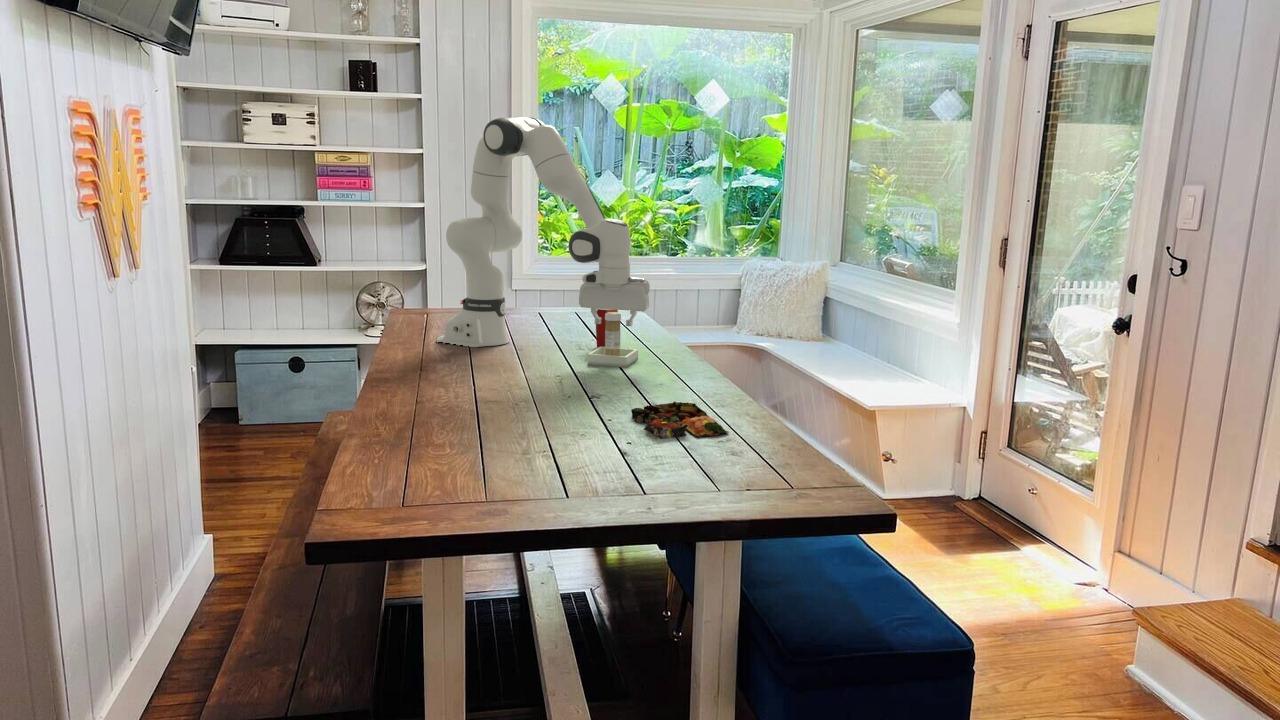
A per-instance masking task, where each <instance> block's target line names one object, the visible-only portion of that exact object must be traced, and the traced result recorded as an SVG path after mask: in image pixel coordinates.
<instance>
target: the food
mask: <svg viewBox="0 0 1280 720" xmlns="http://www.w3.org/2000/svg"><path fill="white" fill-rule="evenodd" d="M630 412H631V419H633V422H635V424H644V428H643V430H647V431H648V432H649V433H650V434H652V435H653V436H654V439H655V440H658V439H660V440H665V439H666V440H667V439H674V438H681V437H682V438H683V437H686V436H687V433H686V432H688V433H689V434H690V435H691V436H693V437H695V438H697V439H699V438H707V437H714V436H718V437H719V434H722V433H723V434H725V433H726V434H729V433H730V431H727V430H726V429H725V428H724V427H723V426H722V425H721V424H720V423H718V421H716V420H715V418H713V417H710V416H709V415H708V414H707V412H706V411H705V410H703V409H702V408H700V407H699V406H698V405H697V404H696V403H694V402H693V403H692V402H682V401H680V402H679V401H677V402H676V401H675V400H674V401H673V402H669V403H660V404H657V403H656V404H654V405H652V404H651V405H646V406H643V408H642V407H634V408H631V411H630ZM655 437H656V438H655ZM657 438H658V439H657Z"/></svg>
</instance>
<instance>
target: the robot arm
mask: <svg viewBox="0 0 1280 720" xmlns="http://www.w3.org/2000/svg"><path fill="white" fill-rule="evenodd" d="M482 134H483V135H482V136H483V137H481V138H480V139H479V141H478V144H477V147H476V149H475V155H474V160H473V165H472V176H471V185H470V186H471V187H470V196H471V198H472V200H473V201H474V202H475V203H476V204H478V205H480V207H481V211H482V215H481V217H465V218H464V217H463V218H459V219H457V220H455V221H451V222H450V224H449V225H448V227H447V229H446V231H445V239H446V240H445V241H446V243H447V245H448V247H449V249H450V250H451V251H452V252H453V253H455V254H456V255H457V256H458V258H459V259H460V261H461V262H462V264H463V267H464V270H465V274H466V282H467V285H466V286H467V297H466V298H463V299H462V300H460V305H462V309H461V310H460V311H458V312H457V313H456V314H455V315H453V316H452V317H451V318H449V319H448V320H447V321H446V322H445V326H444V329H443V330H444V331H443V335H440V336H438V337H437V339H436V342H437V343H438V342H443V343H442V344H445V343H450V344H449V345H453V344H456V345H455V346H460V345H463V347H468V346H469V347H468V348H479V347H492V346H493V347H495V346H501V345H506V344H508V343H509V342H510V338H509V335H508V333H507V332H508V331H507V326H506V319H505V318H506V317H505V315H506V298H505V297H504V274H503V272H502V270H501V269H500V268H498V267H497V266H495V265H494V264H493V263H492V260H491V257H490V254H493V253H494V254H495V253H505V252H508V251H510V250H514V249H516V248H518V247H519V245H520V244H521V241H522V238H523V237H522V236H523V231H522V227H521V224H520V223H519V222H518V221H517V220H516V219H515V218H514V217H513V214H512V212H511V209H510V206H509V184H510V175H511V174H510V173H511V165H512V161H513V159H514V158H515V157H521V156H523V157H524V156H527V157H528V158H529V160H531V163H532V165H533V168H534V171H535V173H536V175H537V177H538V180H539V182H540V183H541V185H542V186H543V188H544V189H545V190H546V191H547V192H548V193H550V194H552V195H555V196H558V197H560V198H562V199H564V200H566V201H568V202H570V203H571V204H572V205H573V206H574V207H575V209H576V210H577V212H578V213H579V216H580V218H581V219H582V222H583V223H584V226H585V227H586V228H584V229H580V230H578V231H575V232H573V234H572V235H571V236H570V237H569V240H568V252H569V255H570V256H571V258H572V259H573V260H574V261H575V262H576V263H581V264H590V263H598V270H593V271H592V272H588V273H586V274H584V275H582V282H583V283H582V284H581V285H580V289H579V294H578V305H579V306H580V307H581V308H584V309H590V313H591V315H592V316H593V318H594V324H595V325H596V324H601V317H598V314H597V312H596V311H598V309H613V310H618V311H627V312H628V311H629V314H630V315H631V316H630V318H627V319H626V320H625V322H626V323H625V326H626V327H632V326H633V323H634V319H635V317H636V316H637V313H638V312H646V311H648V309H649V308H650V298H649V297H650V295H649V293H650V290H651V289H650V288H651V287H650V283H649V281H648V280H646V279H645V278H642V277H641V278H639V277H631V264H630V263H631V262H630V253H631V232H630V227H629V225H628V223H627V222H626V221H624V220H622V219H618V218H612V217H611V218H609V217H608V218H607V217H605V214H604V213H603V211H602V208H601V207H600V204H599V202H598V201H597V199H596V197H595V195H594V194H593V191H592V190H591V188H590V187H589V185H588V183H586V181H585V180H584V178H583V177H582V175H581V174H580V171H579V170H578V168H577V165H576V164H575V162H574V159H573V158H572V156H571V153H570V151H569V149H568V147H567V145H566V143H565V141H564V139H563V138H562V137H561V135H560V133H559V132H558V130H557V129H556V128H555V127H554V126H552V125H549V124H545V122H543V121H542V120H540V119H538V118H534V117H526V116H525V117H524V116H513V117H499V118H495V119H491V120H490V121H489V122H488V123H487V124H486V125H485V127H484V130H483V133H482Z"/></svg>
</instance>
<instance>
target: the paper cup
mask: <svg viewBox="0 0 1280 720" xmlns="http://www.w3.org/2000/svg"><path fill="white" fill-rule="evenodd" d="M596 312H597V314H598V317H601V324H595V338H596V339H595V340H596V349H597V348H599V347H605V330H606V329H605V328H606V321H605V314H606V313H609V312H616V313H619V310H613V309H598V311H596Z"/></svg>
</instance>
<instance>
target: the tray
mask: <svg viewBox="0 0 1280 720" xmlns="http://www.w3.org/2000/svg"><path fill="white" fill-rule="evenodd" d="M638 360H639V349H637V348H625V347H624V348H623V347H620V356H612V355H605V347H599V348H597V347H596V348H595V349H593V350H592V351H591V352H589V353H587V365H591V366H602V367H613V368H628V367H630V366H631V365H632V364H633V363H635V362H637V361H638Z"/></svg>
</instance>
